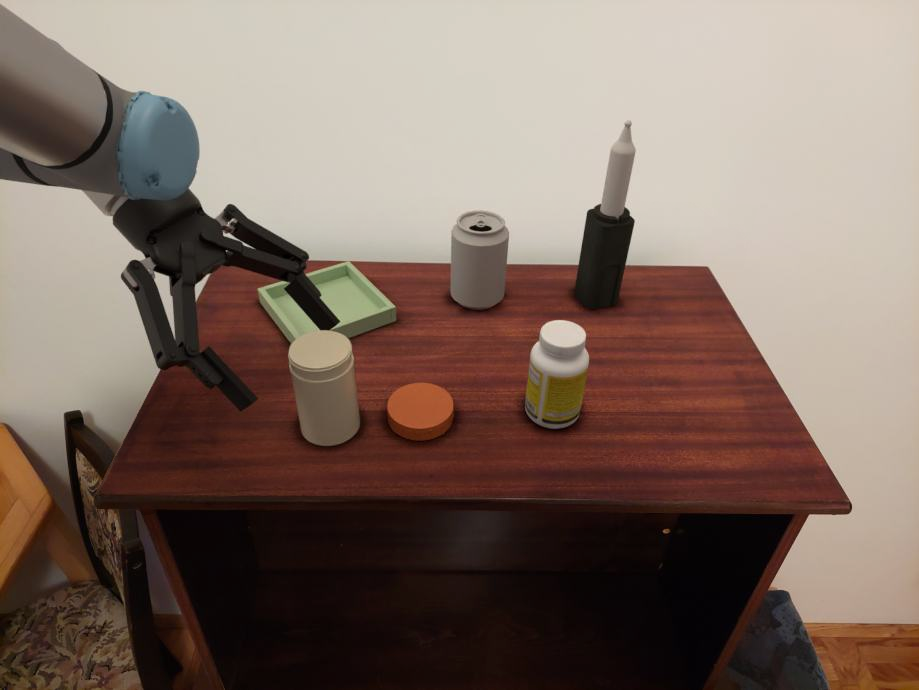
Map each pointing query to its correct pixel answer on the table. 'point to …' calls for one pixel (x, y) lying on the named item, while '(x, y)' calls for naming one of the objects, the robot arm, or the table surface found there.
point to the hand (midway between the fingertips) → (294, 364)
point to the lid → (420, 411)
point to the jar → (325, 387)
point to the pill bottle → (557, 375)
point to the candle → (607, 232)
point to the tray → (331, 303)
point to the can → (479, 259)
